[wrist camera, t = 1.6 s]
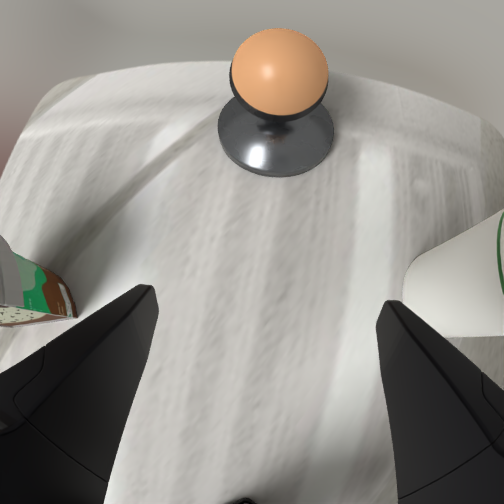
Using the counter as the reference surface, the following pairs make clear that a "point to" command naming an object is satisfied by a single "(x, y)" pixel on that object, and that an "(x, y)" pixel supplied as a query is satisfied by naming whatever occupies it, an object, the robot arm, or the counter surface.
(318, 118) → the button post
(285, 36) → the button cap
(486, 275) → the cylindrical container
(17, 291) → the food container
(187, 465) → the counter surface
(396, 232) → the counter surface
